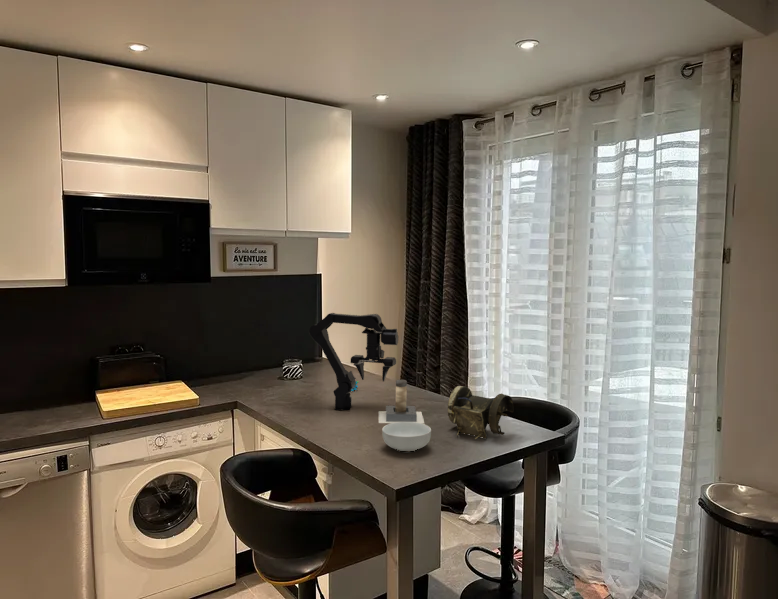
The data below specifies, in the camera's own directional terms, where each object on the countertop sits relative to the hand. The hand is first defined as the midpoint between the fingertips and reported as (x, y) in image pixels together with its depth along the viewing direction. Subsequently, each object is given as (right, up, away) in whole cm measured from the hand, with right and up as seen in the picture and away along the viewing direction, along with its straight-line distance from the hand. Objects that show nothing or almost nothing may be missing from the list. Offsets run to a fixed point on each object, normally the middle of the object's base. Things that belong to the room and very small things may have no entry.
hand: (373, 380), depth 234 cm
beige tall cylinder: (+11, -14, -9) cm, 20 cm away
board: (+12, -14, -9) cm, 21 cm away
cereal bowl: (+13, -17, -43) cm, 48 cm away
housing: (+12, -14, -10) cm, 20 cm away
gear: (-13, -10, +35) cm, 38 cm away
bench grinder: (+39, -16, -27) cm, 50 cm away
